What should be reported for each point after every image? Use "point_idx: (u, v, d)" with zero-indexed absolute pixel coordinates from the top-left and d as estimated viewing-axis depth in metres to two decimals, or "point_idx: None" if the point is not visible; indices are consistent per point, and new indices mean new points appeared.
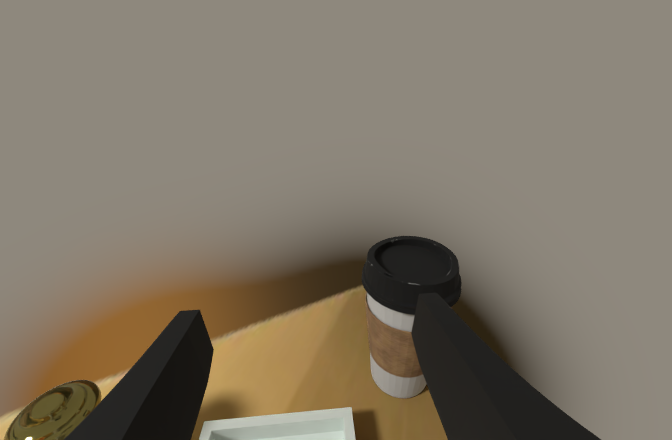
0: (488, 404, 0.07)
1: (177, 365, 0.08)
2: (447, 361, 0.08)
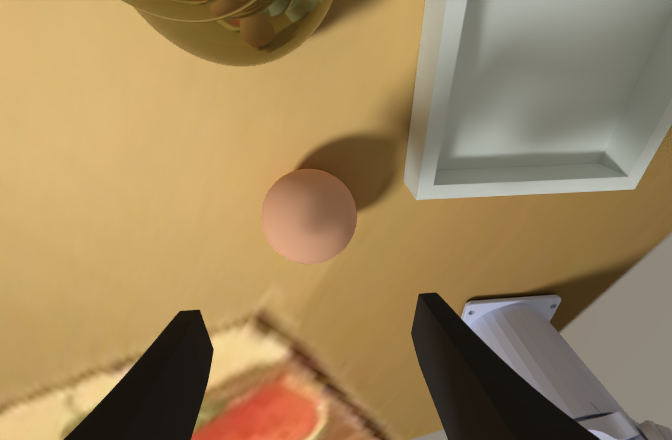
0: (488, 404, 0.07)
1: (177, 365, 0.08)
2: (447, 361, 0.08)
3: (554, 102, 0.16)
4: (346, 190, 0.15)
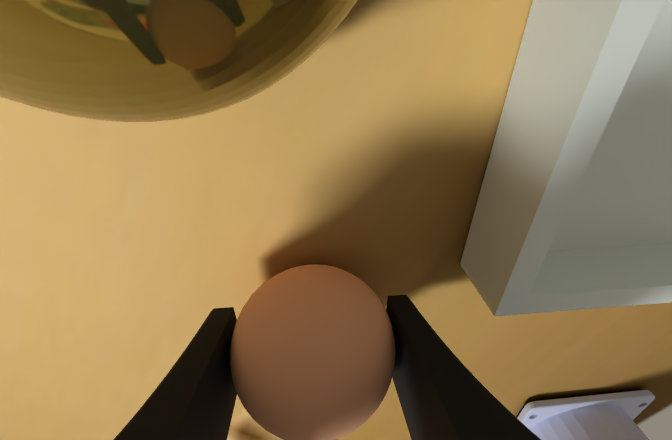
0: (441, 409, 0.06)
1: (217, 361, 0.08)
2: (410, 364, 0.08)
3: None
4: (379, 312, 0.09)
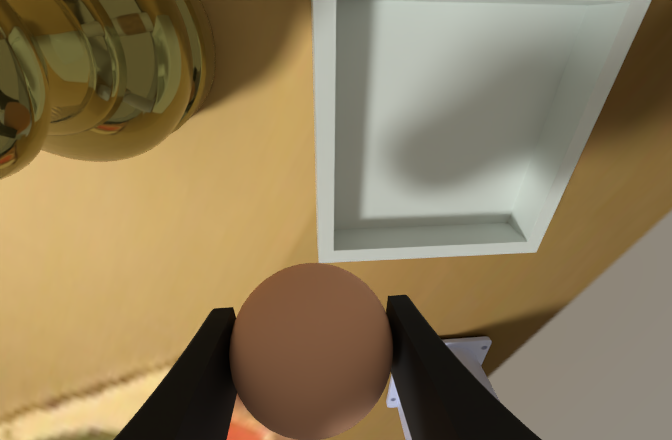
0: (441, 409, 0.06)
1: (217, 361, 0.08)
2: (410, 364, 0.08)
3: (454, 170, 0.17)
4: (378, 309, 0.09)
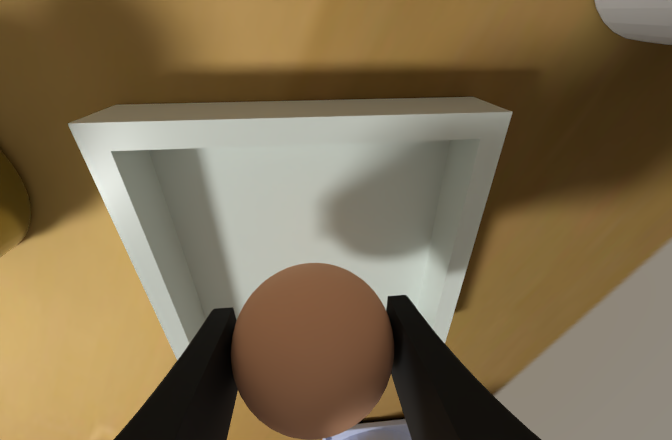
0: (441, 409, 0.06)
1: (217, 361, 0.08)
2: (410, 364, 0.08)
3: None
4: (380, 309, 0.09)
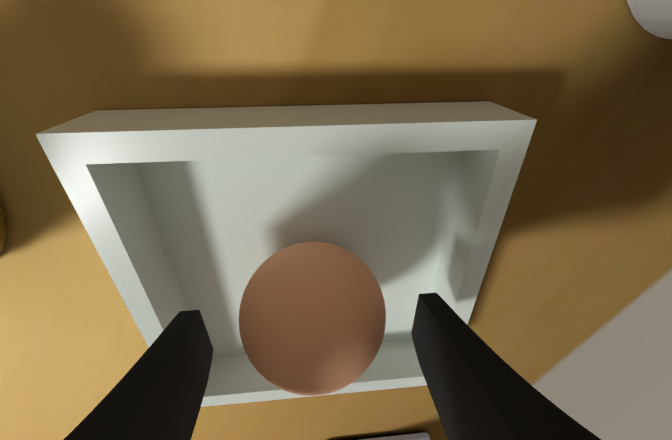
0: (488, 404, 0.07)
1: (177, 365, 0.08)
2: (447, 361, 0.08)
3: None
4: (373, 281, 0.10)
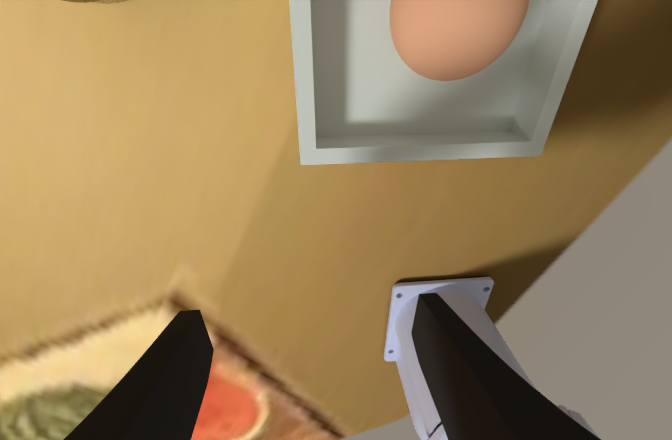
0: (488, 404, 0.07)
1: (177, 365, 0.08)
2: (447, 361, 0.08)
3: None
4: None
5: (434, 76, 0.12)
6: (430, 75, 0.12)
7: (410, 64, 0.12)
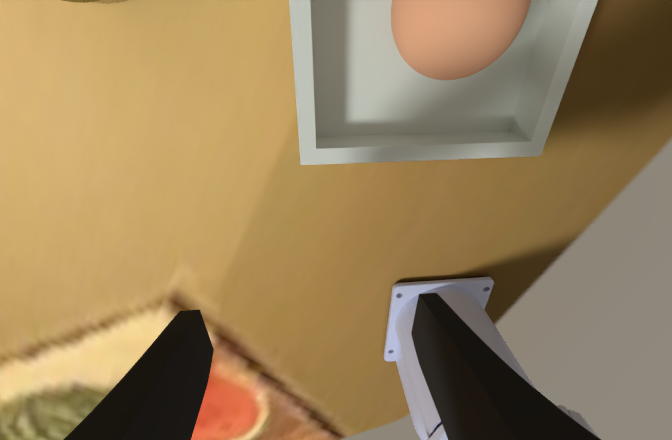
0: (488, 404, 0.07)
1: (177, 365, 0.08)
2: (447, 361, 0.08)
3: None
4: None
5: (436, 75, 0.12)
6: (432, 74, 0.12)
7: (412, 63, 0.12)
